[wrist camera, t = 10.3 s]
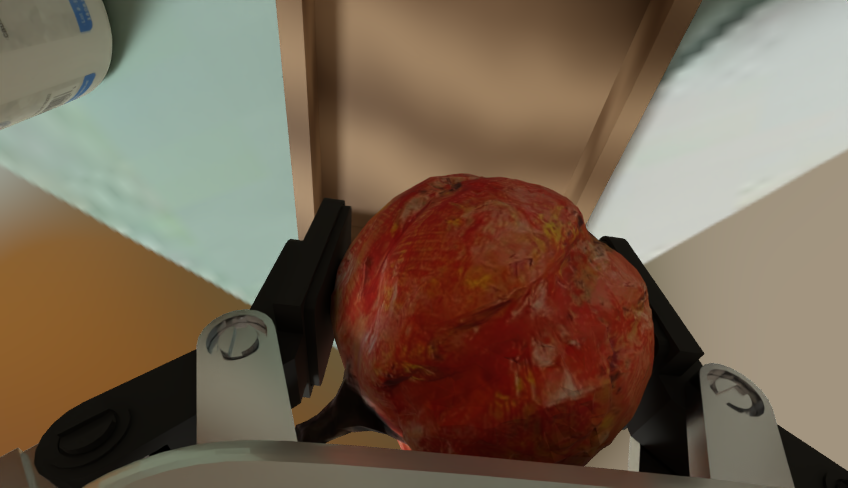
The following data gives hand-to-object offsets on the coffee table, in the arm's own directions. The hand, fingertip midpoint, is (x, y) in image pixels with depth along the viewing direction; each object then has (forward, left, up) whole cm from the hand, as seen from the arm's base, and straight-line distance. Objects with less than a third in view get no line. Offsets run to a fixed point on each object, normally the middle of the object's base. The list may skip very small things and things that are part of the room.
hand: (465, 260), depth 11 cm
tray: (0, 0, -11) cm, 11 cm away
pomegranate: (0, 0, -1) cm, 1 cm away
